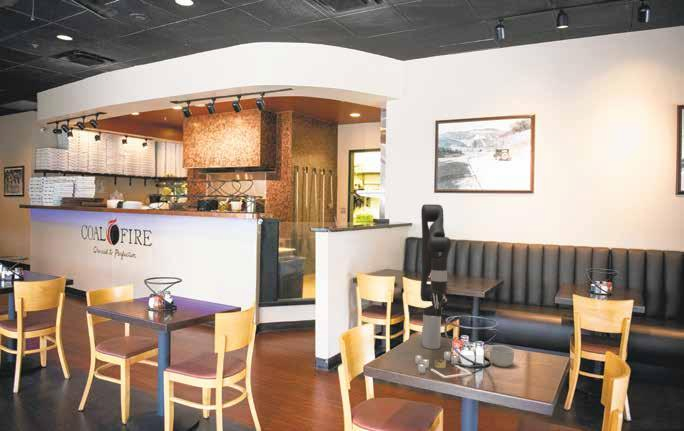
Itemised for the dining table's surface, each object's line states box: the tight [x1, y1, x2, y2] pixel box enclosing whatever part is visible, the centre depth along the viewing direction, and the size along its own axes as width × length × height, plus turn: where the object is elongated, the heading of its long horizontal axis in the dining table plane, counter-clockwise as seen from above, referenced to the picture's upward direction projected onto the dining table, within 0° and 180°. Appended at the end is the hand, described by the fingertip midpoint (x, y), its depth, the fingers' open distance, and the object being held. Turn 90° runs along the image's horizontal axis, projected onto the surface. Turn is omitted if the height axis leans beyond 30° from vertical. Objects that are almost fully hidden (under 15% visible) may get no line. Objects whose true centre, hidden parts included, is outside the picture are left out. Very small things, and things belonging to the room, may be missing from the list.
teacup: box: [483, 344, 515, 368], centre depth 228 cm, size 14×11×8 cm
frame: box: [429, 364, 473, 380], centre depth 217 cm, size 11×14×1 cm
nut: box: [434, 359, 447, 369], centre depth 225 cm, size 6×5×3 cm
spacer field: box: [414, 350, 458, 376], centre depth 225 cm, size 14×28×4 cm, turn 112°
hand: (438, 316), depth 226 cm, fingers closed
